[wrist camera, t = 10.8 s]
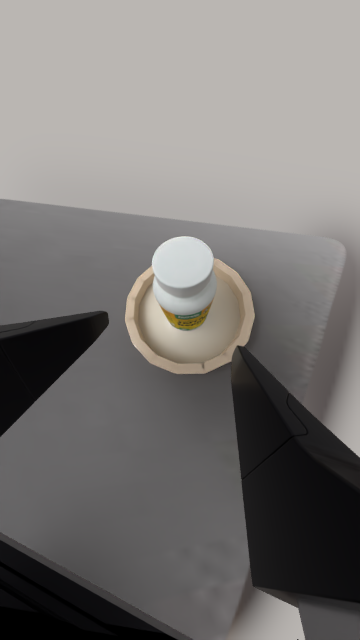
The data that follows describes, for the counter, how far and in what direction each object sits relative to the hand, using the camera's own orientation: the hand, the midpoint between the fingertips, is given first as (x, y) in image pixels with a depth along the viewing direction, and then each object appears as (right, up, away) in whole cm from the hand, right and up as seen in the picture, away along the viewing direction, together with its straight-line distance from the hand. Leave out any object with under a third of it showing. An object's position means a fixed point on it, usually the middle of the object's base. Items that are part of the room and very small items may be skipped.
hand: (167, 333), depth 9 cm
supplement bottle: (+2, +2, +9) cm, 9 cm away
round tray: (+2, +2, +9) cm, 10 cm away
